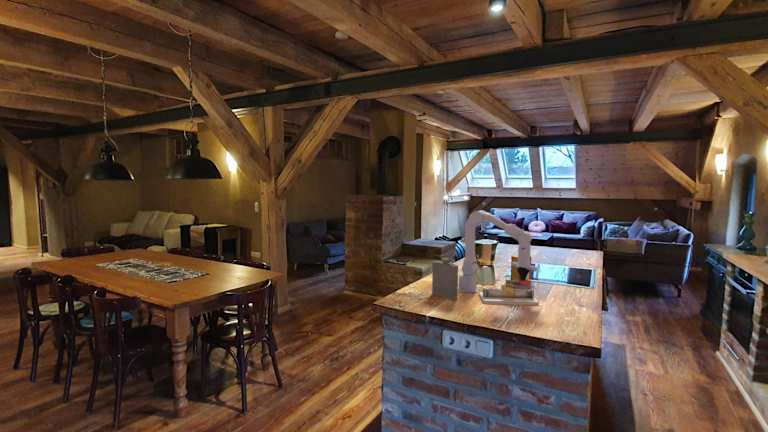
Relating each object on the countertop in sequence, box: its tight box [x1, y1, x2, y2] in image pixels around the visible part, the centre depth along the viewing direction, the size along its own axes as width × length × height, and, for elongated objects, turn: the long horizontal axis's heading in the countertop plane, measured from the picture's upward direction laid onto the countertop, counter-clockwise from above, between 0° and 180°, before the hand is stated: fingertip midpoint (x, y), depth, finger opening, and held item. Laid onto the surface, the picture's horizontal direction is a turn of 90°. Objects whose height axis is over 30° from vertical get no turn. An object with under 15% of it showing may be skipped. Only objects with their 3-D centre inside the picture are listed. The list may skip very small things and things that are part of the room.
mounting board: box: [478, 291, 540, 306], centre depth 193 cm, size 26×14×2 cm, turn 85°
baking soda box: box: [510, 254, 532, 286], centre depth 226 cm, size 10×6×16 cm
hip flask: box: [431, 257, 459, 302], centre depth 197 cm, size 16×4×20 cm, turn 40°
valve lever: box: [505, 279, 532, 285], centre depth 192 cm, size 12×3×2 cm, turn 89°
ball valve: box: [482, 282, 535, 299], centre depth 193 cm, size 24×6×7 cm, turn 85°
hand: (523, 282), depth 195 cm, fingers closed
